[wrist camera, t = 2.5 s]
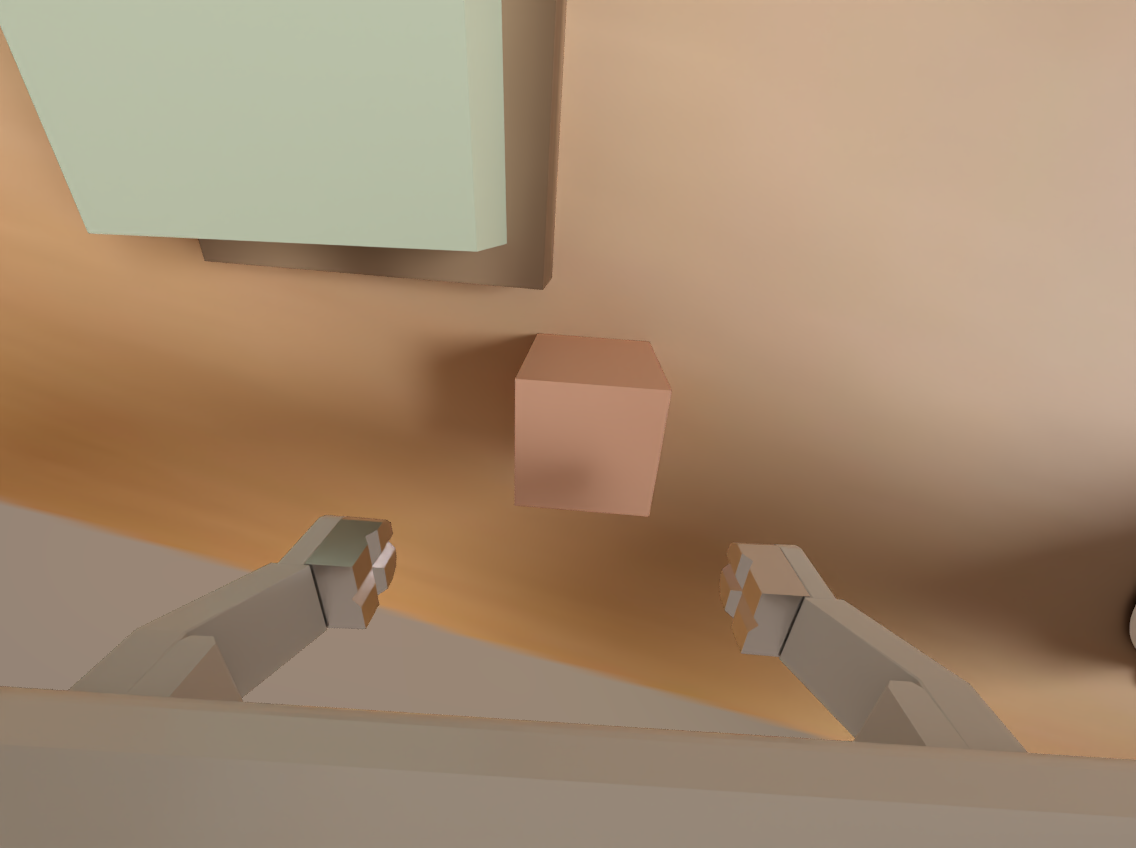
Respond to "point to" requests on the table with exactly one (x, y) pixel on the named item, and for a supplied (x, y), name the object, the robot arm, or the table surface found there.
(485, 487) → the table surface
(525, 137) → the tower base
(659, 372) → the block
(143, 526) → the table surface
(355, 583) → the robot arm
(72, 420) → the table surface
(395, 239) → the tower top
